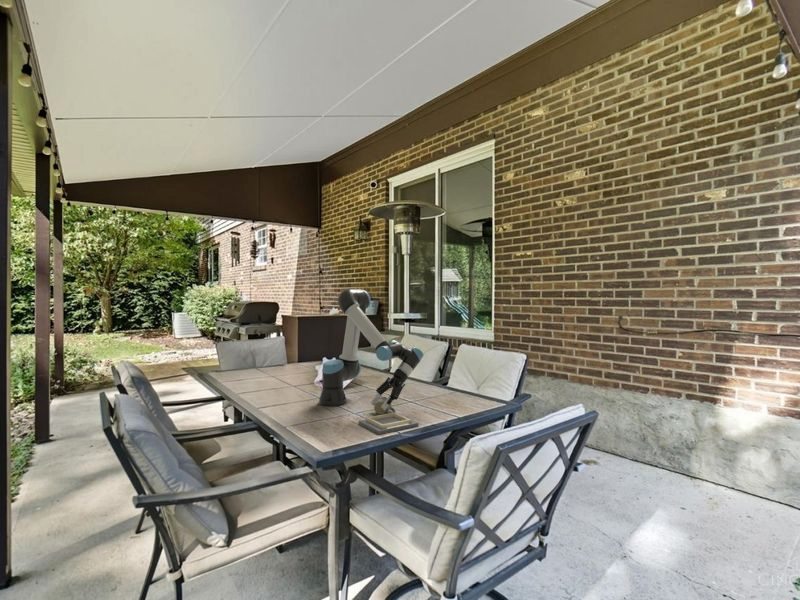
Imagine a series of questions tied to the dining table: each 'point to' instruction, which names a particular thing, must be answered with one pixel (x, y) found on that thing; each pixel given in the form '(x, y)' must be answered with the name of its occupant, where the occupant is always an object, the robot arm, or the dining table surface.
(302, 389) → the dining table surface
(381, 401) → the ceramic mug
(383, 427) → the charcoal pocket board
